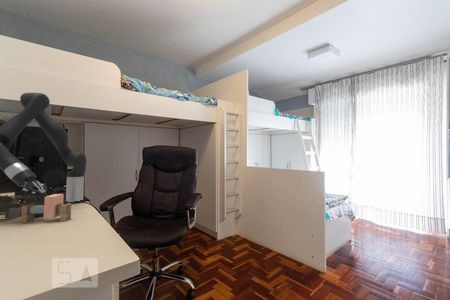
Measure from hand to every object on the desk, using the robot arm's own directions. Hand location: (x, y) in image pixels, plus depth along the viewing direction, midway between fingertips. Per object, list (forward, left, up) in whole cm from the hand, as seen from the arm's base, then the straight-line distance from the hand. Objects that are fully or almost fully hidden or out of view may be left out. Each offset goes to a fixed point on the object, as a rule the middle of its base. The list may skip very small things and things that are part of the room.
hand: (48, 200), depth 99 cm
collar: (0, +3, -8) cm, 8 cm away
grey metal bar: (0, 0, -6) cm, 6 cm away
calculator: (-12, -10, -10) cm, 19 cm away
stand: (0, 0, -10) cm, 10 cm away
